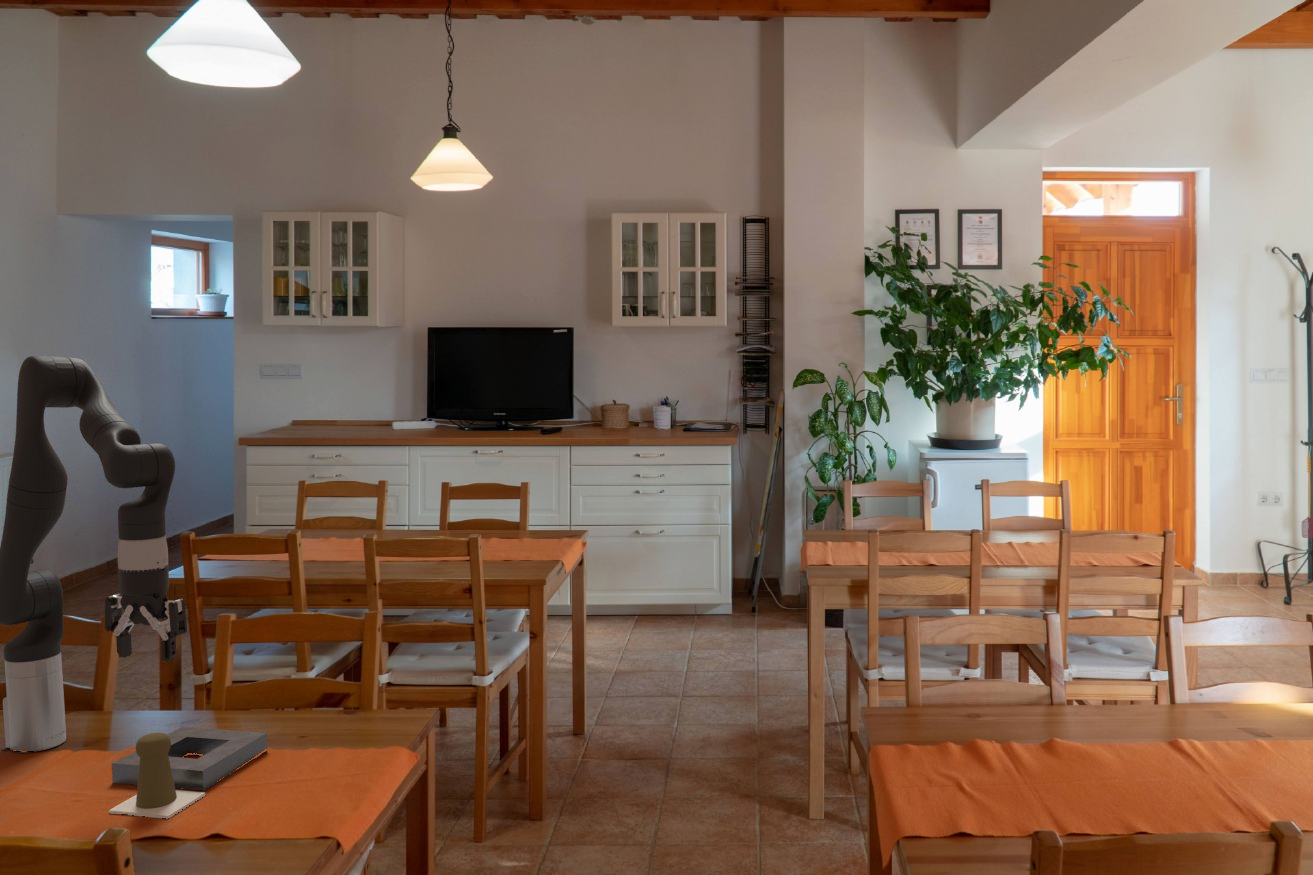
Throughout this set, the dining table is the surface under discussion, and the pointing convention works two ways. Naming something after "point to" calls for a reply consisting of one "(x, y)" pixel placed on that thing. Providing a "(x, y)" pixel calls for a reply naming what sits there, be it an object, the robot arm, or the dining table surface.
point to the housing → (217, 761)
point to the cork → (154, 772)
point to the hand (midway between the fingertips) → (146, 658)
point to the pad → (161, 812)
